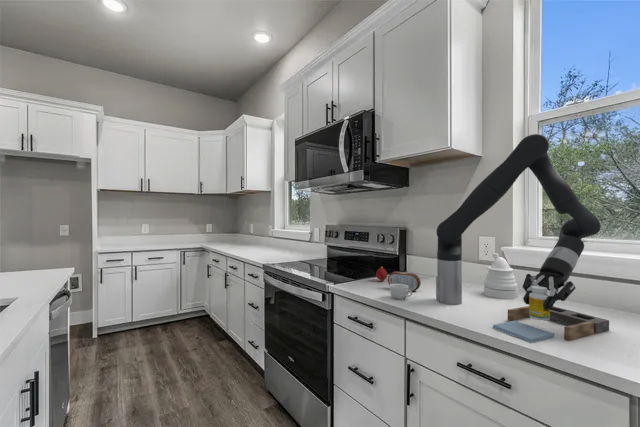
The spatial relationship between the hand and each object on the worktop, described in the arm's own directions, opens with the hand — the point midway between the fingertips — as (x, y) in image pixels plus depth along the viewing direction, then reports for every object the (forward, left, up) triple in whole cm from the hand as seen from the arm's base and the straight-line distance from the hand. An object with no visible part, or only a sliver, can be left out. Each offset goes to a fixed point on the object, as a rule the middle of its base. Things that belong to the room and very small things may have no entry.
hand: (535, 305), depth 96 cm
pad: (-5, -3, -7) cm, 10 cm away
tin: (-34, +45, -8) cm, 57 cm away
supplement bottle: (+2, +1, -4) cm, 5 cm away
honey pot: (+7, +41, -8) cm, 43 cm away
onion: (-43, +63, -8) cm, 77 cm away
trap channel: (+9, +5, -7) cm, 12 cm away
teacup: (-37, +30, -8) cm, 48 cm away
